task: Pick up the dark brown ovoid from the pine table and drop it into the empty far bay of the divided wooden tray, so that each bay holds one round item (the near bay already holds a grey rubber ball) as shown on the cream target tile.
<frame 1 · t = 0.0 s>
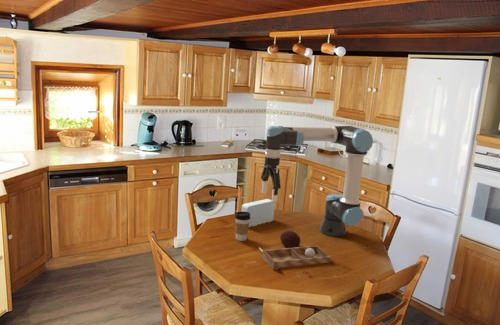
hand: (269, 196, 230), 28 cm above the table, fingers open, 13 cm apart
white rounded block: (257, 223, 271), on the table
divided wooden tray: (295, 260, 222), on the table
coffee cup: (241, 239, 245), on the table
target tile: (267, 251, 230), on the table
dark brown ovoid: (289, 247, 238), on the table
ball: (309, 257, 224), point 1 cm above the table, touching divided wooden tray
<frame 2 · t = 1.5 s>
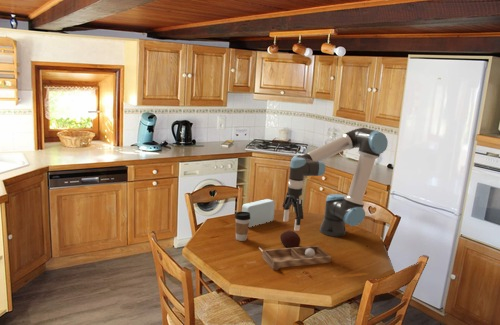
hand: (291, 225, 235), 12 cm above the table, fingers open, 13 cm apart
nothing on the table moved.
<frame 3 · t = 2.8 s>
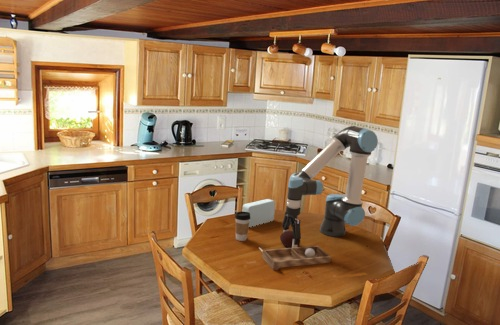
hand: (289, 245, 238), 1 cm above the table, fingers closed on dark brown ovoid, 11 cm apart
dark brown ovoid: (289, 247, 238), on the table, touching gripper
everything else where it was.
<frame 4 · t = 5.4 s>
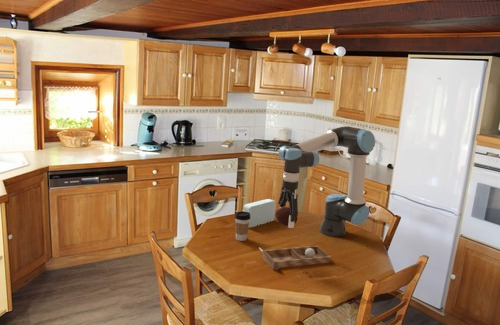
hand: (286, 223, 219), 19 cm above the table, fingers closed on dark brown ovoid, 11 cm apart
dark brown ovoid: (285, 225, 219), point 18 cm above the table, touching gripper
everything else where it was.
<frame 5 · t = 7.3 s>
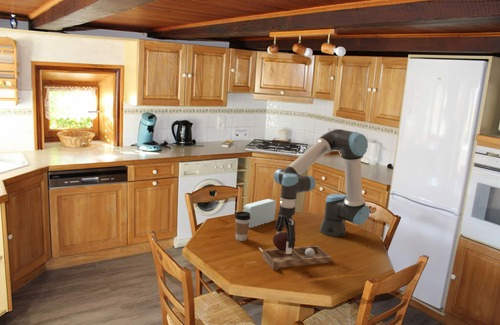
hand: (283, 248, 218), 7 cm above the table, fingers closed on dark brown ovoid, 11 cm apart
dark brown ovoid: (283, 250, 218), point 6 cm above the table, touching gripper
when the fingers open (5 cm above the table, at t = 8.2 s): dark brown ovoid drops 3 cm, resting on divided wooden tray.
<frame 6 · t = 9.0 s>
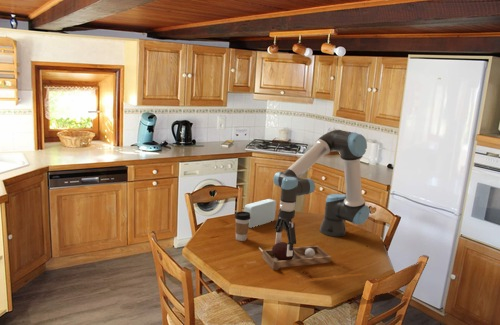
hand: (283, 250, 218), 6 cm above the table, fingers open, 13 cm apart
dark brown ovoid: (282, 260, 219), point 1 cm above the table, touching divided wooden tray
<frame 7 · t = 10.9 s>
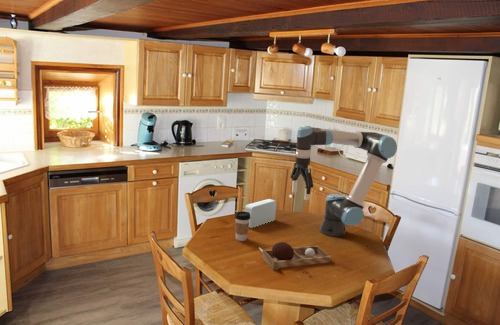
hand: (300, 195, 236), 28 cm above the table, fingers open, 13 cm apart
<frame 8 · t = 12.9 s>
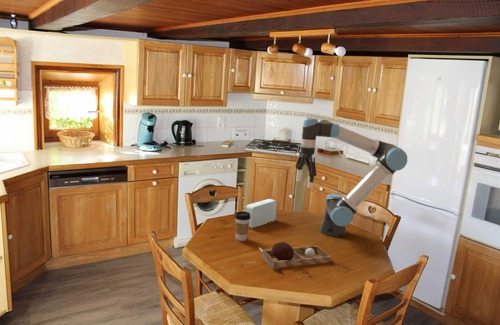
hand: (304, 184, 245), 32 cm above the table, fingers open, 13 cm apart
at the end: dark brown ovoid inside the target area on the divided wooden tray (0.2 cm from its centre), point 0.8 cm above the divided wooden tray's base; ball inside the target area on the divided wooden tray (0.2 cm from its centre), point 1.0 cm above the divided wooden tray's base; the gripper is holding nothing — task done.
